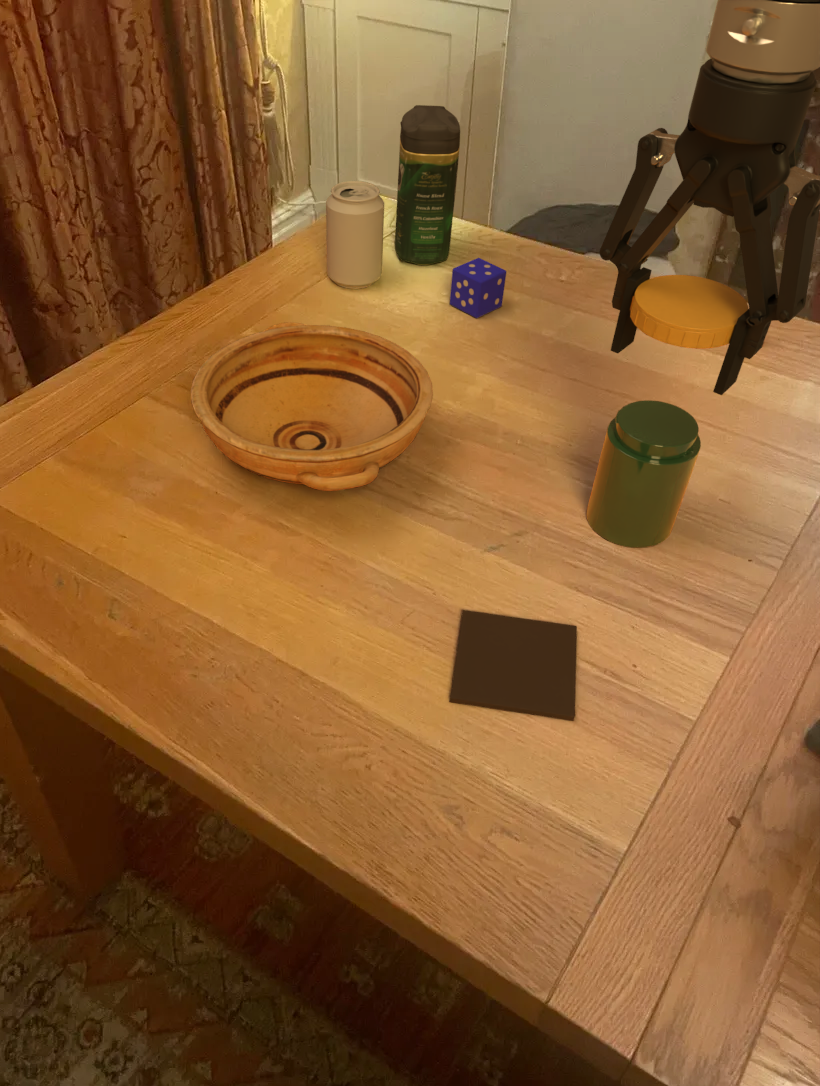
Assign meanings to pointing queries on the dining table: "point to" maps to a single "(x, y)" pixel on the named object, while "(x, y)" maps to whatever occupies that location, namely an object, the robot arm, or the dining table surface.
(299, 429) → the ceramic bowl
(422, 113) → the coffee jar
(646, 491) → the jar
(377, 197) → the can
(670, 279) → the jar lid
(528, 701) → the coaster
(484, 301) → the die
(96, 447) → the dining table surface
